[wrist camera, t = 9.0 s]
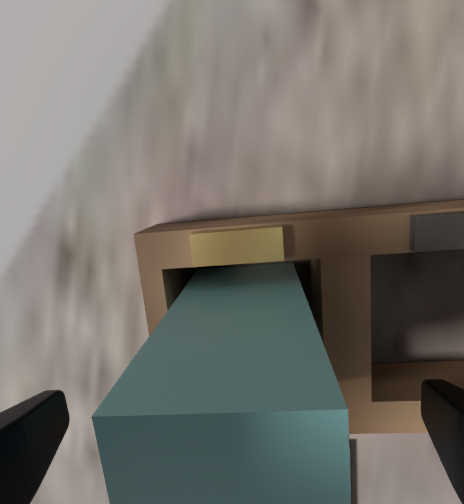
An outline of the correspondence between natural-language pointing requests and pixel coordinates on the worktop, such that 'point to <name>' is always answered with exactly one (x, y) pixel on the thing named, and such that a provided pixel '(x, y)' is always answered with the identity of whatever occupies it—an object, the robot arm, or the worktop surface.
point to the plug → (229, 401)
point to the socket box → (321, 288)
